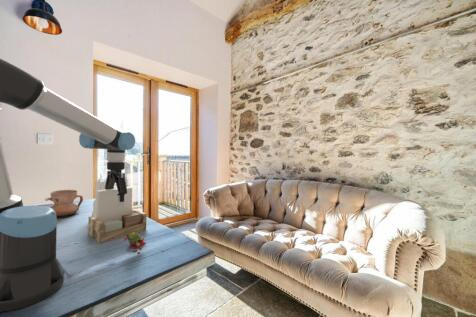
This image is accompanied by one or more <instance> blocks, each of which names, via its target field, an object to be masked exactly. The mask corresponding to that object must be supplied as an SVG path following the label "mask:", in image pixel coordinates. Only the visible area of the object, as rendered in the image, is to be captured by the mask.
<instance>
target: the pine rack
mask: <svg viewBox="0 0 476 317" xmlns="http://www.w3.org/2000/svg"><path fill="white" fill-rule="evenodd" d="M136 212H137V213H139V214H140V224H137V225H133V226H129V227H125V228H121V229H118V230H114V231H110V232H106V233H105V223H103V222H102V221H100V220H98V219H97V218H95V217H93V216H92V215H91V216H88V225H87V226H88V227H87V228H88V230H87V231H88V232H87V234H88V235H89V236H90V237H91V238H93V239H94V240H95V241H97V242H98V243H99V244H103V243H106V242H110V241H113V240H116V239H119V238H123V237H127V236H126V234H130V233H132V232H137V233H139V232H143V231H146V230H147V213H146V212H144V211H141V210H138V209H136V208H133V207H132V213H136Z"/></svg>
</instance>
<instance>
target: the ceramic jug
mask: <svg viewBox="0 0 476 317" xmlns="http://www.w3.org/2000/svg"><path fill="white" fill-rule="evenodd" d="M49 194H50V197H46V198H44V200H45V202H47V201H51V202H53V205H52V206H50V207H49V208H52V209H53V210H54V211H55V212H56V217H57V218H58V217H67V216H71V215H73V214H76V213H77V212H79V211H80V206H81V205H82V204H83V200H84V197H83V195H81V194H78V190H77V189H60V190H54V191H53V190H52V191H50V193H49ZM77 198H79V202H78V204H76V203H74V201H75V200H76V199H77Z"/></svg>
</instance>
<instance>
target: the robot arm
mask: <svg viewBox="0 0 476 317" xmlns="http://www.w3.org/2000/svg"><path fill="white" fill-rule="evenodd" d="M2 104H5V105H9V106H12V107H13V108H16V109H17V110H22V111H23V110H29V111H31V112H34V113H36V114H38V115H41V117H45V118H48V119H50V120H51V121H54V122H56V123H58V124H60V125H62V126H63V127H67V128H68V129H71V130H73V131H75V132H77V133H79V137H78V142H79V145H80V146H81V147H82V148H83V149H89V150H93V149H94V150H106V161H107V162H106V169H107V170H108V171H107V172H106V173H107V174H106V178H107V179H106V178H105V179H106V184H105V189H106V190H107V189H114V187H115V186H116V188H117V189H118V193H119V194H117V195H118V204H117V209H122V208H124V195H125V194H127V188H126V187H127V184H126V183H127V182H126V173H125V172H122V170H125V168H126V164H125V160H126V151H129V150H130V151H131V149H133V148H134V147H135V144H136V137H135V135H134V134H133V133H132V132H130V131H125V130H123V129H118V128H116V127H114V126H112V125H111V124H110V123H108V122H106V121H104V120H102V119H101V118H98V117H97V116H94V115H93V114H92V113H90V112H88V111H86V110H85V109H83V108H82V107H80V106H78V105H76V104H75V103H73V102H72V101H69V100H68V99H66V98H64V97H62V96H60V95H59V94H57V93H55V91H52V90H50V89H49V88H47V87H45V84H44V82H43V81H42V80H40V79H39V78H38V77H35V76H33V75H32V74H30V73H28V72H27V71H25V70H23V69H21V67H18V66H16V65H14V64H12V63H10V62H8V61H7V60H4V59H2V58H0V111H2V110H3V108H2ZM10 179H11V178H10V174H9V171H8V165H7V160H6V157H5V152H4V148H3V143H2V140H1V137H0V313H2V312H3V311H5V312H11V311H16V310H19V308H20V309H23V308H25V307H29V306H31V305H34V304H36V303H38V302H41V301H43V300H45V299H46V298H48V297H50V296H51V295H53V294H54V293H56V292H57V291H58V290H59V289H61V287H62V286H63V284H64V281H65V280H64V271H63V269H62V266H61V265H60V263H59V261H58V259H57V230H58V229H57V225H58V217H56V212H55V211H54V210H53V209H52V208H50V207H49V206H44V205H24V203H23V199H22V197H21V196H19V195H17V194H15V193H14V192H13V188H12V184H11V180H10ZM15 309H16V310H15ZM3 313H4V312H3Z"/></svg>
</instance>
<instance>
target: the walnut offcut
mask: <svg viewBox="0 0 476 317" xmlns="http://www.w3.org/2000/svg"><path fill="white" fill-rule="evenodd" d="M137 224H140V214H139V213H137V212H136V213H131V214H127V215H122V228H125V227H129V226H133V225H137Z"/></svg>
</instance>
